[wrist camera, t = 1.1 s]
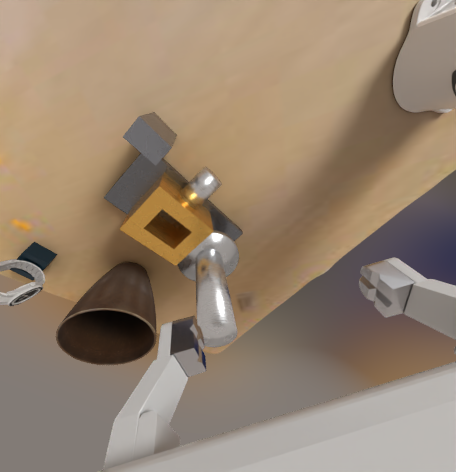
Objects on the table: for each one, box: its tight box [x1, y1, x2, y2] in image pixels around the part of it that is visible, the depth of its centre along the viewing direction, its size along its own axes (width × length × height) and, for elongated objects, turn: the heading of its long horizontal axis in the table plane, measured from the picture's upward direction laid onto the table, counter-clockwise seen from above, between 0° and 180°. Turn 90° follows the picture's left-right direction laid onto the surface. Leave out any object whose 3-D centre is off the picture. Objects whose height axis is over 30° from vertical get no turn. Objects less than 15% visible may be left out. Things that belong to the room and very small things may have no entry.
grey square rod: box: [123, 113, 177, 166], centre depth 30 cm, size 3×4×12 cm, turn 43°
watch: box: [0, 242, 57, 306], centre depth 39 cm, size 6×8×11 cm
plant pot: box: [56, 262, 156, 365], centre depth 42 cm, size 15×15×16 cm
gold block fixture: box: [104, 153, 243, 347], centre depth 33 cm, size 17×24×24 cm
